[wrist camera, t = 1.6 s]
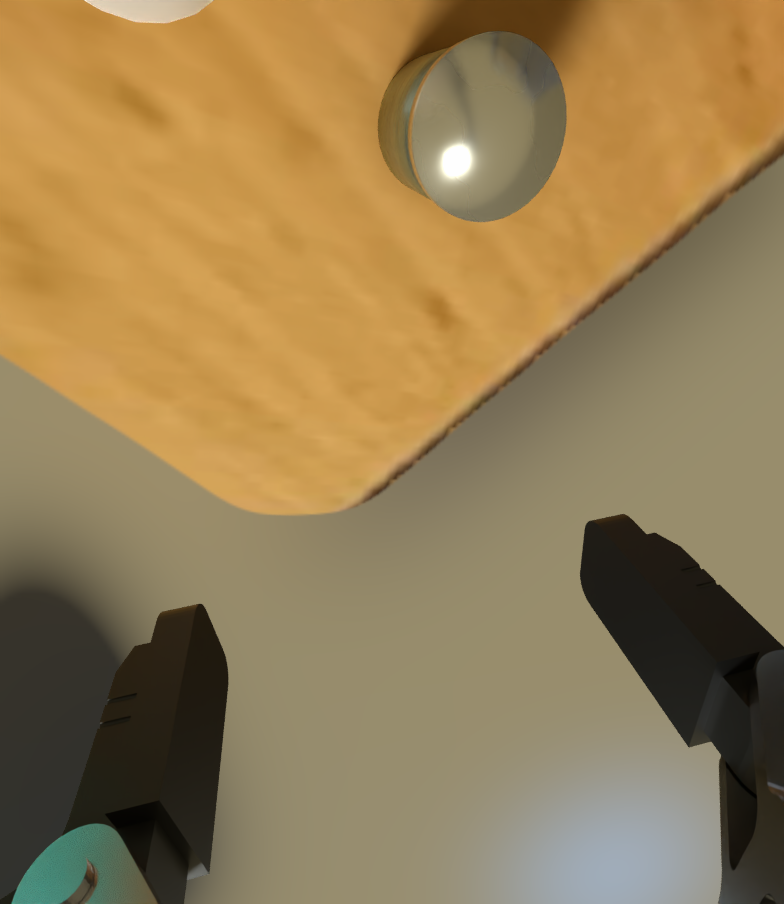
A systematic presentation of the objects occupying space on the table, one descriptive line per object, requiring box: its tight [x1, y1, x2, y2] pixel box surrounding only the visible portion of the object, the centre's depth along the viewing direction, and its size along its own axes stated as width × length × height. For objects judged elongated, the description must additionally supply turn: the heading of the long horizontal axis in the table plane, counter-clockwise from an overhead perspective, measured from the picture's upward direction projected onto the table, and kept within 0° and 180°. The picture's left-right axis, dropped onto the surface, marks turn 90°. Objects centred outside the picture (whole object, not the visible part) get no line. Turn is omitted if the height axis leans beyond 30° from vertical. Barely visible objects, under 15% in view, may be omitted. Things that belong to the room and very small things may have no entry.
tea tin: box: [378, 31, 566, 222], centre depth 21 cm, size 6×6×7 cm
